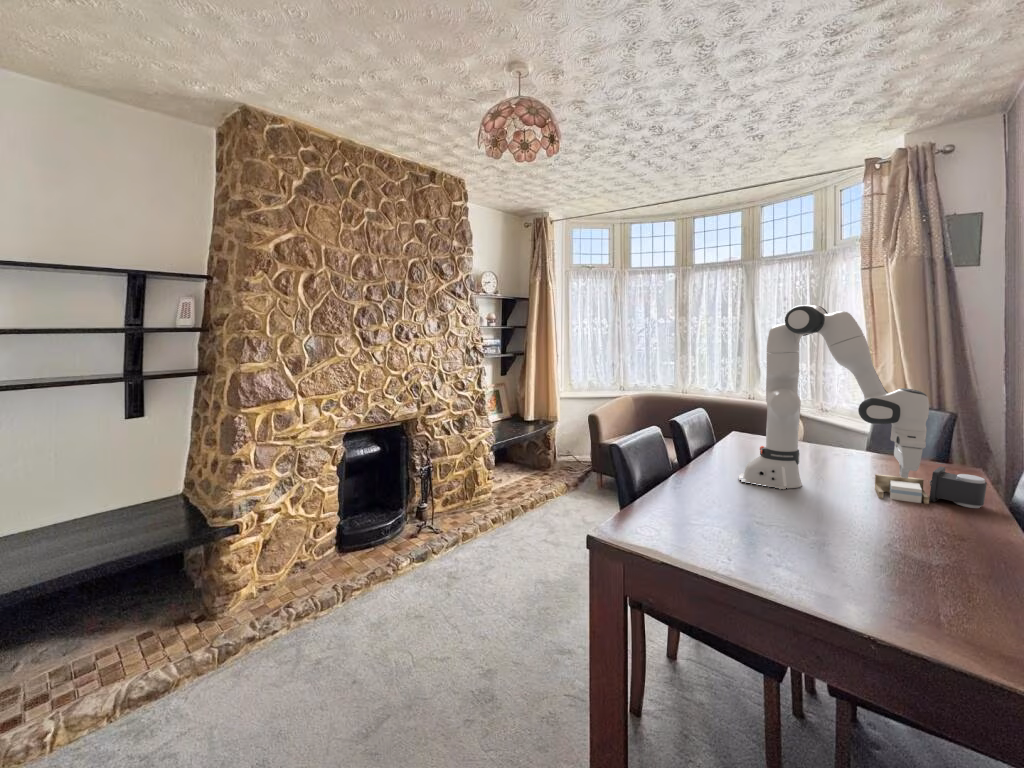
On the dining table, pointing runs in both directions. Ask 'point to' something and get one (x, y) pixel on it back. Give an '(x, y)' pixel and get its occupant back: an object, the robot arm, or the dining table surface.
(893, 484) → the carton
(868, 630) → the dining table surface
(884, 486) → the stand
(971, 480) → the light fixture
